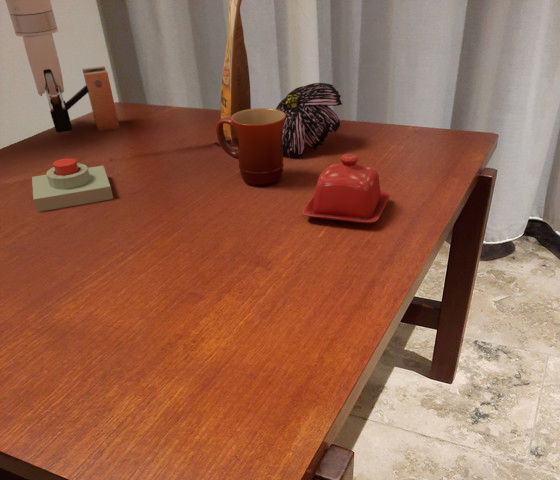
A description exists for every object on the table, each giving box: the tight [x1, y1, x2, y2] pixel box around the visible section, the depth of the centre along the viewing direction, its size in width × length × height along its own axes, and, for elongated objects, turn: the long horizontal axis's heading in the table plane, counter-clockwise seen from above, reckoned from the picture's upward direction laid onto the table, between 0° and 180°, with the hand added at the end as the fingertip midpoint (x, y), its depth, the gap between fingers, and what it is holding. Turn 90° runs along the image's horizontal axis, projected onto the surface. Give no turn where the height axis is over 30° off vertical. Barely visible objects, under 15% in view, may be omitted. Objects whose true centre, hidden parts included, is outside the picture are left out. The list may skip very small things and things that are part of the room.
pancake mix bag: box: [220, 0, 252, 147], centre depth 104 cm, size 7×19×28 cm, turn 179°
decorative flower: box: [275, 82, 343, 160], centre depth 103 cm, size 15×12×15 cm
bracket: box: [81, 65, 120, 132], centre depth 113 cm, size 12×10×12 cm
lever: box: [62, 69, 99, 111], centre depth 111 cm, size 12×5×2 cm, turn 110°
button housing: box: [31, 162, 114, 213], centre depth 92 cm, size 12×10×4 cm
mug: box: [215, 107, 286, 187], centre depth 92 cm, size 12×9×10 cm
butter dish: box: [302, 153, 391, 224], centre depth 81 cm, size 12×12×8 cm
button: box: [53, 157, 79, 176], centre depth 90 cm, size 4×4×2 cm
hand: (63, 125), depth 113 cm, fingers open, 5 cm apart
